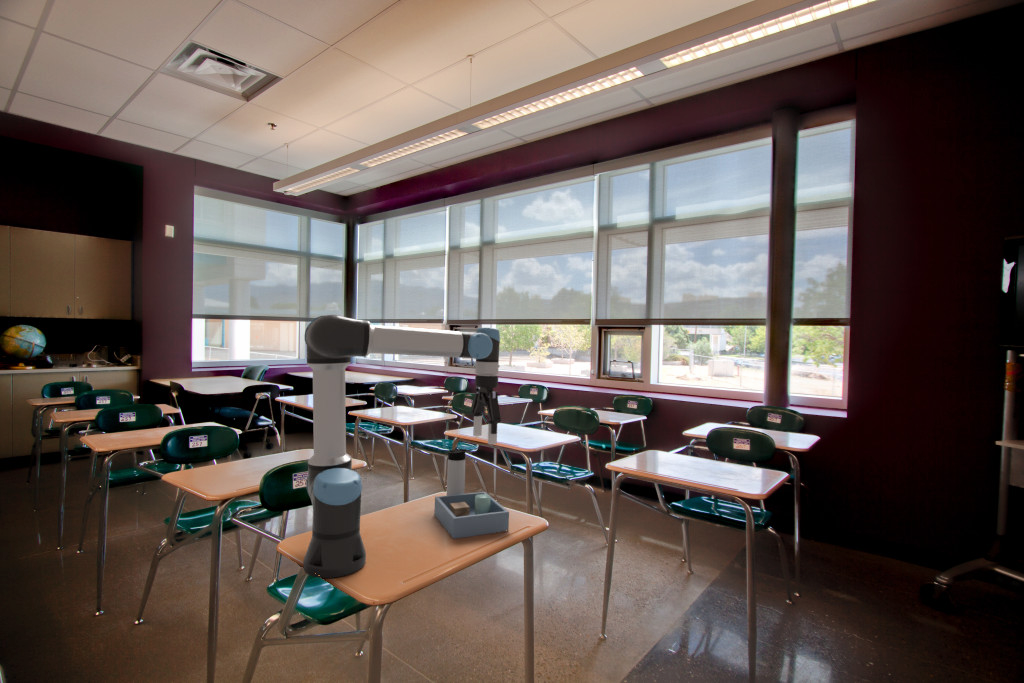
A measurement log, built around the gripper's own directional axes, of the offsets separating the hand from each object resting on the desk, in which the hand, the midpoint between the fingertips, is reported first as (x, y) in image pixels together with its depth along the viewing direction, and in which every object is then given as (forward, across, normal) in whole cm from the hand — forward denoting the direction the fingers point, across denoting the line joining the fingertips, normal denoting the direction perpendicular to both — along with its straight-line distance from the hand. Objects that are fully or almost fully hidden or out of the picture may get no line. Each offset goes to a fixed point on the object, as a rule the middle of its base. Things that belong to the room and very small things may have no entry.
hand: (484, 439), depth 160 cm
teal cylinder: (+26, 0, 0) cm, 26 cm away
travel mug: (+27, +17, +4) cm, 32 cm away
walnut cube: (+26, 0, +8) cm, 27 cm away
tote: (+27, 0, +4) cm, 27 cm away
